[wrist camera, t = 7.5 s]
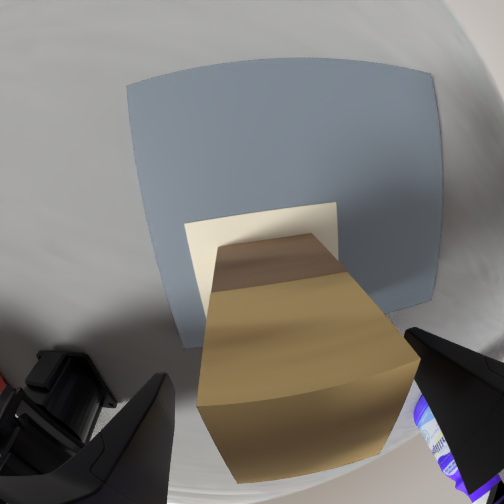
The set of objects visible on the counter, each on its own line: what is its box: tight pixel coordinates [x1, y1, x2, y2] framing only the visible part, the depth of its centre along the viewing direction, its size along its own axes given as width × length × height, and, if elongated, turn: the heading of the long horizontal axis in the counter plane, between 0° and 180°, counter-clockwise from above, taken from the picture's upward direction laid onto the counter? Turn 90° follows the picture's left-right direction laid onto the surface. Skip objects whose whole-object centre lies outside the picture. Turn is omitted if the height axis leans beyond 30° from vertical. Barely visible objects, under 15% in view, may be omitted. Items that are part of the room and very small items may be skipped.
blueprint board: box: [126, 58, 443, 349], centre depth 14 cm, size 16×18×1 cm
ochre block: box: [196, 272, 421, 484], centre depth 8 cm, size 5×5×5 cm
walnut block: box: [211, 233, 347, 293], centre depth 13 cm, size 5×5×5 cm
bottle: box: [414, 395, 501, 504], centre depth 15 cm, size 7×6×17 cm
